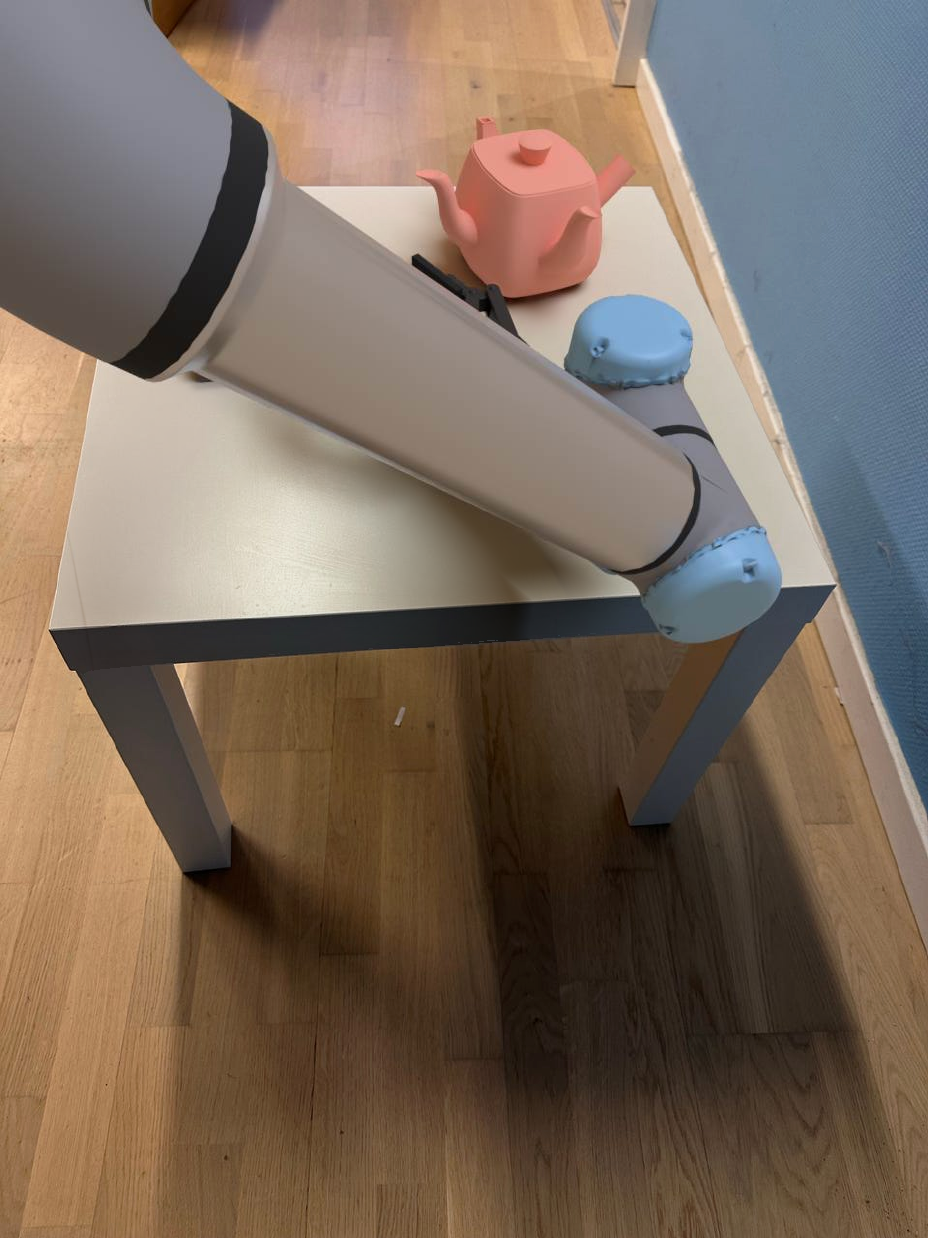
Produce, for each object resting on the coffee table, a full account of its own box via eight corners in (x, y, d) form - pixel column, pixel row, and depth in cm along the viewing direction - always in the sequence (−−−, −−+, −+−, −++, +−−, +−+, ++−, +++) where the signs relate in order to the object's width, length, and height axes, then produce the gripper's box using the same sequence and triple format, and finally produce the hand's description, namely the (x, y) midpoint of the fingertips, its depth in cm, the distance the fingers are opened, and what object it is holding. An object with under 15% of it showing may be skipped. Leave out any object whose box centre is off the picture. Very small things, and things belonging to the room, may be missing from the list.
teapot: (578, 336, 92) (602, 208, 81) (412, 291, 95) (413, 161, 84) (622, 244, 102) (649, 119, 91) (471, 206, 105) (478, 80, 94)
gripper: (382, 527, 69) (239, 380, 78) (611, 400, 79) (460, 282, 88) (380, 456, 63) (224, 306, 72) (628, 328, 73) (464, 210, 82)
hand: (354, 292), depth 80 cm, fingers open, 13 cm apart
